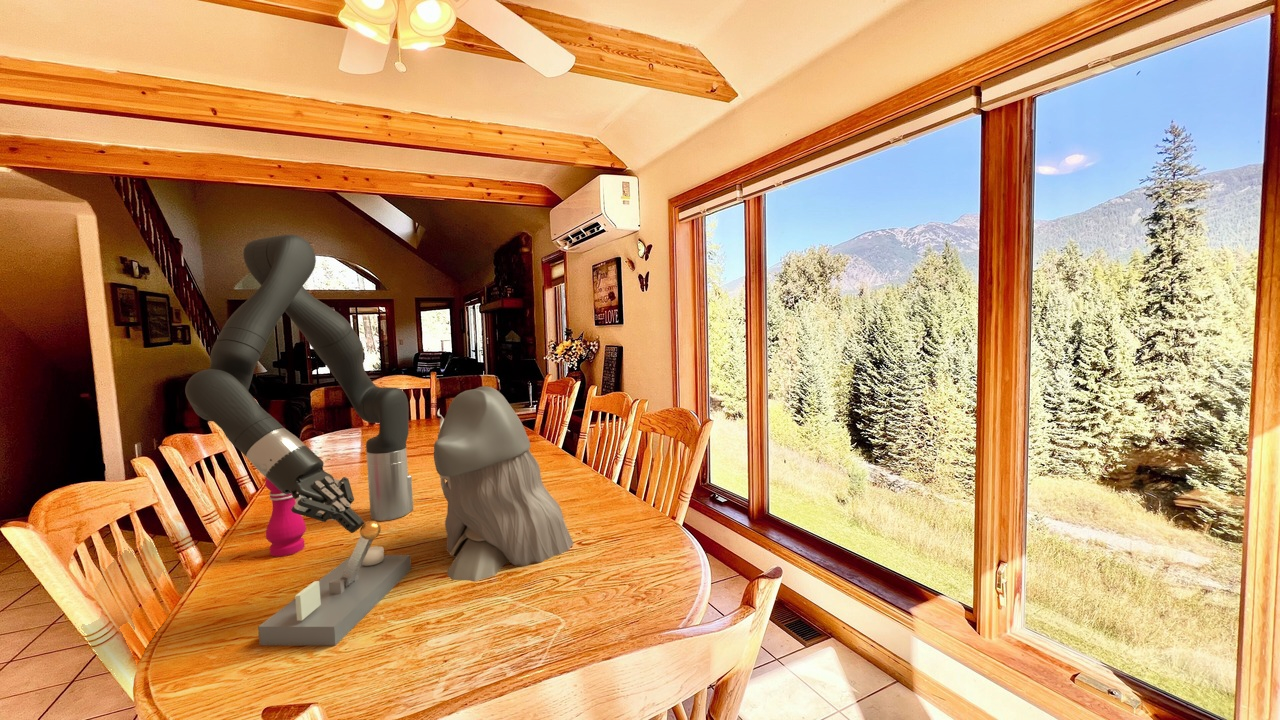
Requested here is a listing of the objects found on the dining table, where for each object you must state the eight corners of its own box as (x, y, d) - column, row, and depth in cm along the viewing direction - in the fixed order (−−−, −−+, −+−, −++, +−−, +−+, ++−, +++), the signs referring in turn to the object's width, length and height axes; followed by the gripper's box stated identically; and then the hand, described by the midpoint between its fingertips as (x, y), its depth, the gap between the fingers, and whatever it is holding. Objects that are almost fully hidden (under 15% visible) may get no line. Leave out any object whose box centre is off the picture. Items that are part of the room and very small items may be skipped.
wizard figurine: (468, 511, 133) (461, 379, 131) (592, 517, 127) (588, 379, 125) (380, 574, 100) (369, 399, 98) (542, 587, 94) (535, 400, 92)
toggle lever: (332, 581, 88) (360, 521, 87) (343, 572, 91) (371, 514, 90) (349, 590, 88) (377, 530, 87) (359, 580, 91) (387, 522, 90)
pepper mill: (287, 559, 108) (280, 466, 106) (258, 556, 109) (251, 465, 108) (315, 544, 115) (309, 457, 113) (288, 542, 116) (281, 456, 115)
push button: (356, 565, 97) (355, 555, 97) (368, 556, 101) (367, 546, 101) (377, 565, 97) (376, 555, 97) (388, 555, 101) (387, 546, 101)
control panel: (259, 645, 78) (257, 614, 78) (352, 569, 102) (351, 545, 102) (335, 645, 78) (333, 614, 78) (411, 569, 102) (409, 545, 102)
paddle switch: (297, 620, 79) (295, 595, 78) (316, 604, 83) (314, 581, 83) (302, 620, 79) (300, 595, 78) (320, 604, 83) (319, 581, 83)
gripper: (270, 455, 82) (349, 528, 82) (324, 436, 95) (392, 500, 95) (241, 487, 82) (320, 560, 83) (298, 464, 95) (366, 527, 96)
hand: (358, 528), depth 89 cm, fingers closed
